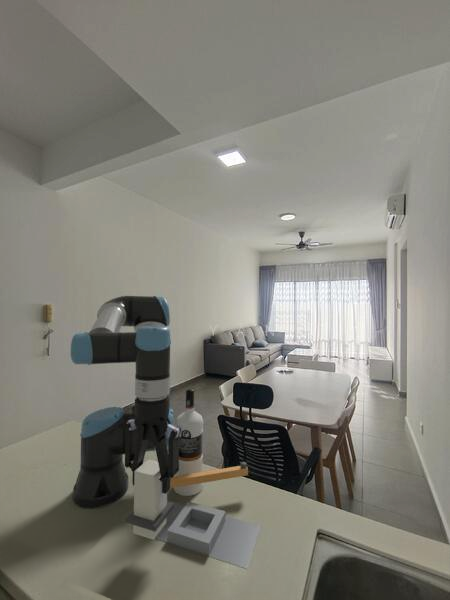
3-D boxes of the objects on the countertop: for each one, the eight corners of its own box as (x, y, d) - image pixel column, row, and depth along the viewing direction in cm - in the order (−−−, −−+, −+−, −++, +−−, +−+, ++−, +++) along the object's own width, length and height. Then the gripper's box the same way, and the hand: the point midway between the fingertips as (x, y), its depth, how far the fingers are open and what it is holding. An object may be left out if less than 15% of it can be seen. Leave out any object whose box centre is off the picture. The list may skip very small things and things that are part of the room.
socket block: (133, 535, 68) (133, 509, 68) (161, 502, 80) (161, 479, 80) (247, 574, 59) (247, 543, 59) (260, 529, 70) (261, 504, 71)
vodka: (208, 483, 89) (209, 386, 90) (196, 502, 80) (198, 395, 81) (181, 477, 92) (183, 384, 93) (167, 495, 83) (169, 392, 84)
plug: (124, 535, 60) (126, 472, 60) (146, 512, 67) (147, 456, 67) (155, 546, 57) (156, 480, 58) (173, 520, 64) (174, 461, 65)
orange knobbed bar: (158, 491, 74) (158, 480, 75) (157, 485, 77) (157, 473, 77) (248, 476, 82) (248, 465, 82) (245, 470, 85) (245, 460, 85)
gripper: (107, 396, 63) (105, 504, 62) (180, 406, 56) (178, 526, 56) (129, 387, 70) (128, 484, 69) (196, 395, 63) (195, 502, 63)
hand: (150, 503), depth 62 cm, fingers closed on plug, 5 cm apart
